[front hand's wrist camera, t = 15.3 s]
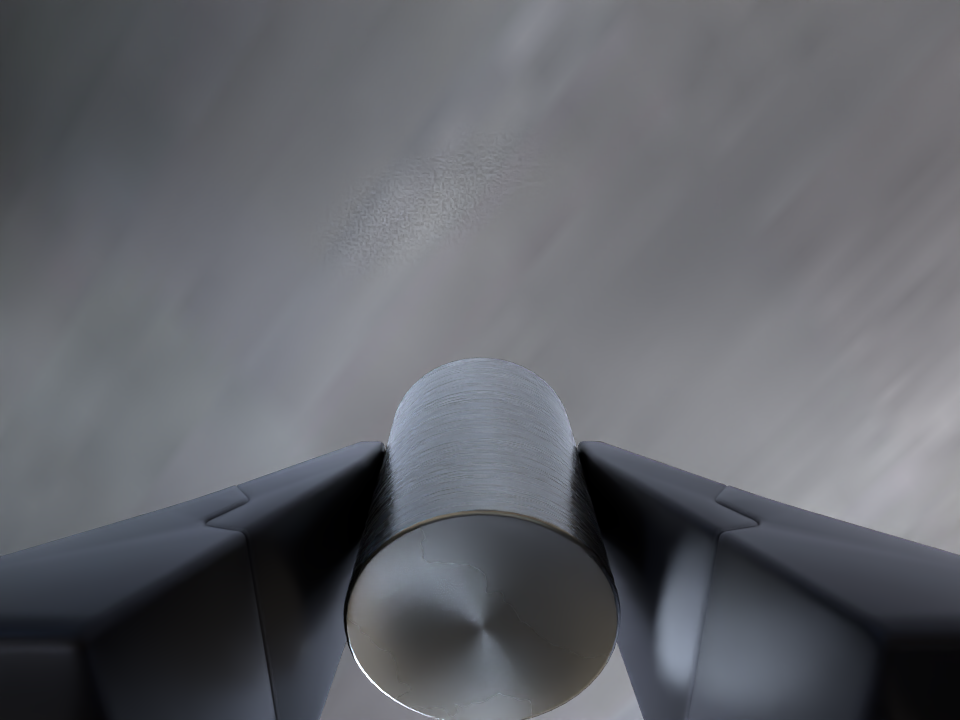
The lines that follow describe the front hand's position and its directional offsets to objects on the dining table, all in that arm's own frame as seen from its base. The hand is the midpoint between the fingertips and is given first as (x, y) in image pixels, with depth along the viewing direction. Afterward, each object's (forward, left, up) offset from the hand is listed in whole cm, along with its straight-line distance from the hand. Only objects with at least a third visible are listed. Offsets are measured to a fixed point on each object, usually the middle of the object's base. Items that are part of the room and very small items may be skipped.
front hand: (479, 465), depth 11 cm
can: (0, 0, -1) cm, 1 cm away
